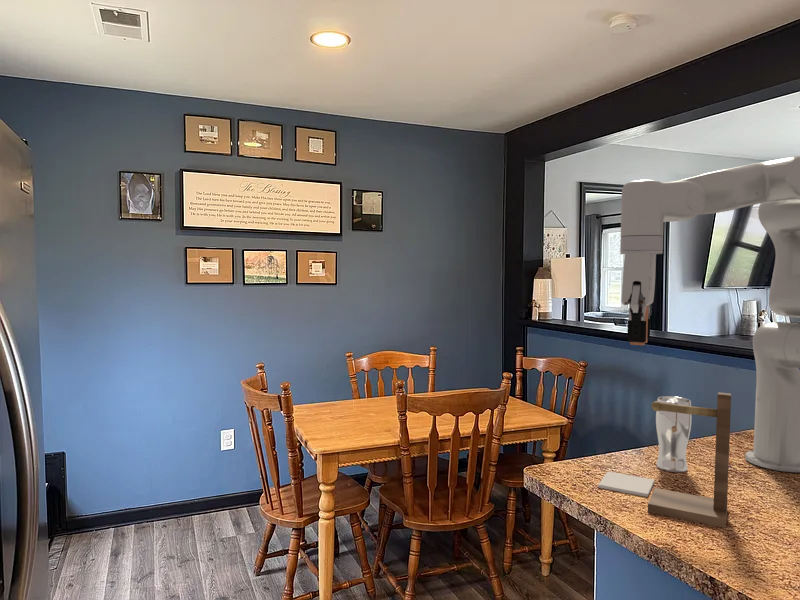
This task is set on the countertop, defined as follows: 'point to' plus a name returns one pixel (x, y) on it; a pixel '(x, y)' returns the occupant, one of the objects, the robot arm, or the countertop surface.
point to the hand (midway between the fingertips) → (638, 339)
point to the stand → (715, 508)
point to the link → (646, 327)
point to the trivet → (627, 484)
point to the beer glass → (673, 435)
